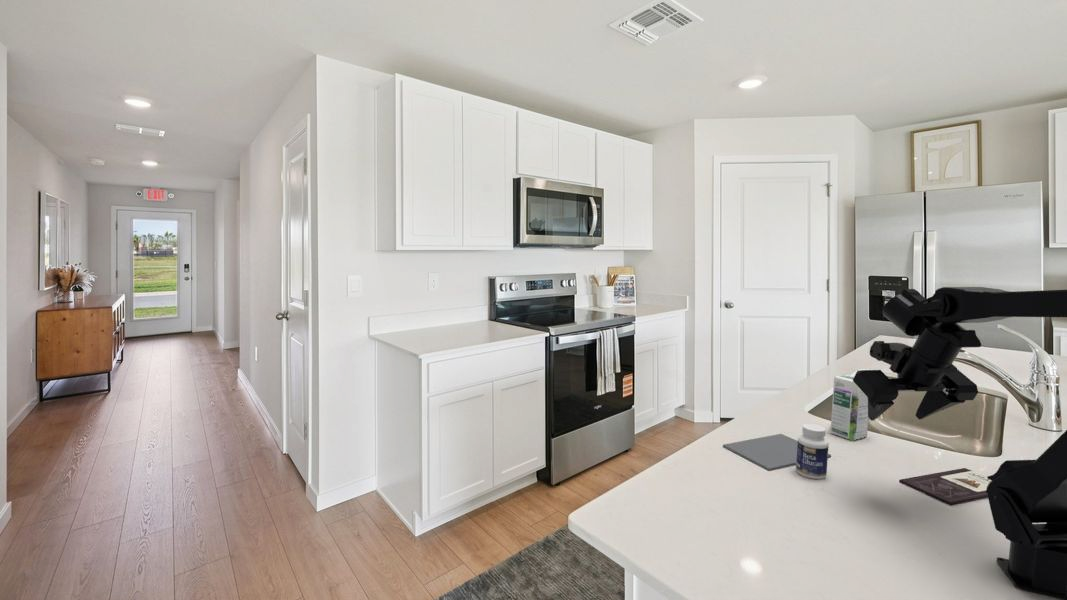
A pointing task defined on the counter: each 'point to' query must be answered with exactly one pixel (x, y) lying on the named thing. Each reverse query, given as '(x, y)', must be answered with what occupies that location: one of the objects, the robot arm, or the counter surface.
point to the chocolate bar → (951, 486)
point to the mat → (768, 451)
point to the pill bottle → (812, 452)
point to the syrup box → (849, 409)
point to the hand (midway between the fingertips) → (894, 418)
